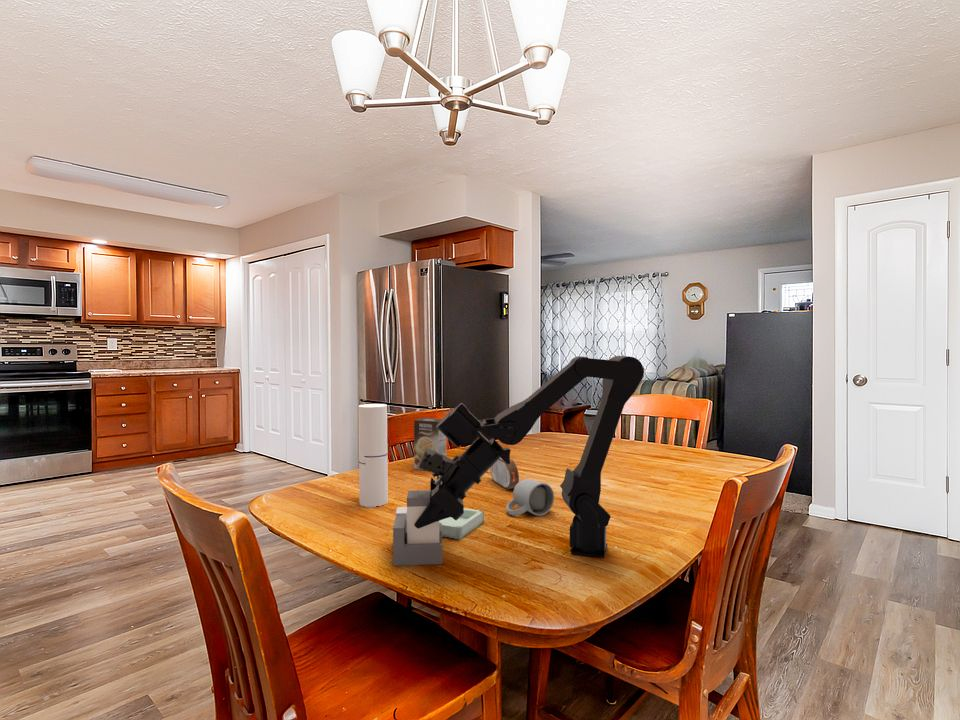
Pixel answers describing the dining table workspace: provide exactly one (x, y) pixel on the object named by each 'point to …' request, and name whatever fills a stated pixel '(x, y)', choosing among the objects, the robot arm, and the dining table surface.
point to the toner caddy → (414, 509)
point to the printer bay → (413, 545)
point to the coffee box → (427, 438)
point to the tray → (462, 524)
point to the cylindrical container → (373, 455)
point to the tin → (505, 474)
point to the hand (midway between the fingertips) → (416, 521)
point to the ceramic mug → (531, 498)
